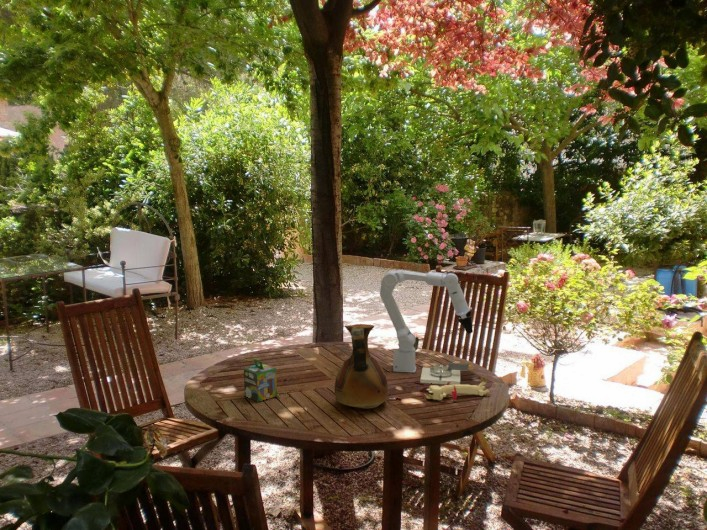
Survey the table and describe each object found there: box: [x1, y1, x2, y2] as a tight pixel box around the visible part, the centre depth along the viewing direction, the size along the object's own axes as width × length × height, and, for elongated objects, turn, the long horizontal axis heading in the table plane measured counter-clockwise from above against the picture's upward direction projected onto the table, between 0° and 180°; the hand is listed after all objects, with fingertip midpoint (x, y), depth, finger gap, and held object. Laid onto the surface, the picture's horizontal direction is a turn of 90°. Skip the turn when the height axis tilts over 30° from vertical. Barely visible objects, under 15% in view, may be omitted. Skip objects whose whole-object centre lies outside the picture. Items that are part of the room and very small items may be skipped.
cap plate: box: [419, 366, 461, 385], centre depth 253 cm, size 16×16×2 cm
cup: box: [413, 336, 420, 352], centre depth 286 cm, size 8×7×8 cm
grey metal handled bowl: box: [429, 362, 474, 377], centre depth 252 cm, size 18×9×5 cm, turn 80°
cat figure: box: [424, 375, 491, 401], centre depth 230 cm, size 10×9×25 cm
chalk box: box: [243, 358, 278, 403], centre depth 229 cm, size 9×9×15 cm
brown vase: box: [334, 323, 389, 409], centre depth 221 cm, size 20×20×30 cm
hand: (470, 330), depth 255 cm, fingers open, 7 cm apart
